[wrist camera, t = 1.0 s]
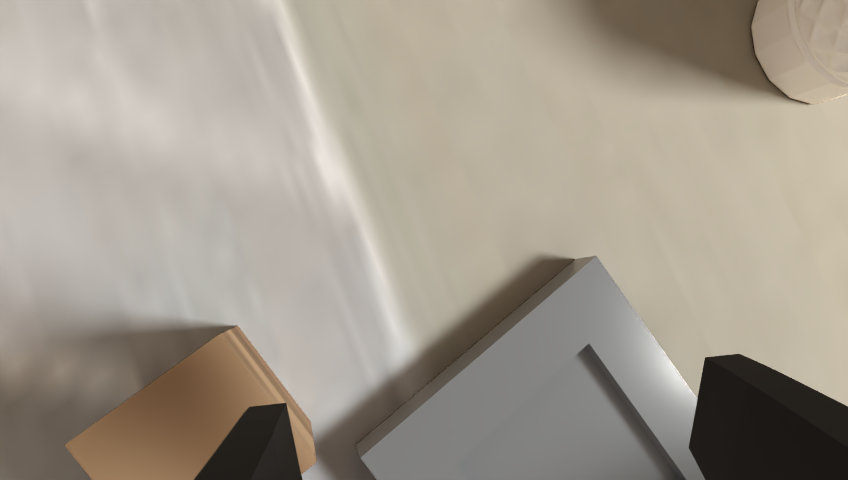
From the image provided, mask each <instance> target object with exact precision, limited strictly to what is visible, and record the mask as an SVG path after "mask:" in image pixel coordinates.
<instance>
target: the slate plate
mask: <svg viewBox="0 0 848 480" xmlns="http://www.w3.org/2000/svg"><path fill="white" fill-rule="evenodd" d="M696 405H697V398H696V396H695V395H694V394H693V392H692V391H691V389H690V388H689V386H688V385H687V384H686V382H685V381H684V379H683V378H682V377H681V375H680V374H679V372H678V371H677V369H676V368H675V367H674V365H673V364H672V362H671V361H670V360H669V358H668V357H667V355H666V354H665V352H664V351H663V350H662V348H661V347H660V345H659V344H658V343H657V341H656V340H655V338H654V337H653V335H652V334H651V333H650V331H649V330H648V328H647V327H646V326H645V324H644V323H643V321H642V320H641V318H640V317H639V316H638V314H637V313H636V311H635V310H634V309H633V307H632V306H631V304H630V303H629V301H628V300H627V299H626V297H625V296H624V294H623V293H622V292H621V290H620V289H619V287H618V286H617V284H616V283H615V282H614V280H613V279H612V277H611V276H610V275H609V273H608V272H607V270H606V269H605V267H604V266H603V265H602V263H601V262H600V260H599V259H598V258H597V256H592V257H585V258H579V259H575V260H574V261H573V262H572V263H570V264H569V265H568V266H567V267H566V268H564V269H563V270H562V271H561V272H560V273H559V274H557V275H556V276H555V277H554V278H553V279H551V280H550V281H549V282H548V283H547V284H546V285H544V286H543V287H542V288H541V289H540V290H538V291H537V292H536V293H535V294H534V295H532V296H531V297H530V298H529V299H528V300H527V301H525V302H524V303H523V304H522V305H521V306H519V307H518V308H517V309H516V310H515V311H514V312H512V313H511V314H510V315H509V316H508V317H506V318H505V319H504V320H503V321H502V322H501V323H499V324H498V325H497V326H496V327H495V328H493V329H492V330H491V331H490V332H489V333H488V334H486V335H485V336H484V337H483V338H482V339H480V340H479V341H478V342H477V343H476V344H475V345H473V346H472V347H471V348H470V349H469V350H467V351H466V352H465V353H464V354H463V355H462V356H460V357H459V358H458V359H457V360H456V361H454V362H453V363H452V364H451V365H450V366H448V367H447V368H446V369H445V370H444V371H443V372H441V373H440V374H439V375H438V376H437V377H435V378H434V379H433V380H432V381H431V382H430V383H428V384H427V385H426V386H425V387H424V388H422V389H421V390H420V391H419V392H418V393H417V394H415V395H414V396H413V397H412V398H411V399H409V400H408V401H407V402H406V403H405V404H404V405H402V406H401V407H400V408H399V409H398V410H396V411H395V412H394V413H393V414H392V415H391V416H389V417H388V418H387V419H386V420H385V421H383V422H382V423H381V424H380V425H379V426H378V427H376V428H375V429H374V430H373V431H372V432H370V433H369V434H368V435H367V436H366V437H364V438H363V439H362V440H361V441H360V442H359V443H357V444H356V445H355V447H356V449H357V451H358V454H359V456H360V458H361V460H362V461H363V462H364V464H365V465H366V466H367V467H368V469H369V470H370V471H371V473H372V474H373V475H374V477H375V478H376V479H377V480H705V478H704V476H703V474H702V472H701V471H700V469H699V467H698V465H697V463H696V461H695V459H694V457H693V455H692V453H691V451H690V449H689V442H690V437H691V432H692V426H693V421H694V415H695V410H696Z"/></svg>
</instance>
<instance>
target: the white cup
mask: <svg viewBox="0 0 848 480" xmlns="http://www.w3.org/2000/svg"><path fill="white" fill-rule="evenodd" d="M751 29H752V36H753V43H754V50H755V55H756V57H757V59H758V60H759V62H760V64H761V66H762V68H763V70H764V72H765V73H766V75H767V77H768V79H769V80H770V81H771V82H772V83H773V84H774V85H775V86H777V87H778V88H779V89H780V90H781V91H782V92H784V93H785V94H786V95H787V96H788V97H790V98H792V99H796V100H799V101H803V102H806V103H810V104H818V103H822V102H825V101H829V100H832V99H836V98H839V97H842V96H845V95H848V0H759V1H758V3H757V6H756V10H755V14H754V17H753V21H752V25H751Z"/></svg>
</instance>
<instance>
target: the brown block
mask: <svg viewBox="0 0 848 480" xmlns="http://www.w3.org/2000/svg"><path fill="white" fill-rule="evenodd" d="M279 403H286V404H287V408H288V413H289V418H290V423H291V428H292V433H293V437H294V442H295V447H296V452H297V457H298V462H299V466H300V471H301V474H302V473H304V472H305V471H306V470H307V469H308V468H310V467H311V466H312V465H313V464H314V463H316V462H317V461H316V454H315V447H314V440H313V434H312V427H311V422H310V420H309V419H308V418H307V416H306V415H305V414H304V412H303V411H302V410H301V408H300V407H299V406H298V404H297V403H296V402H295V400H294V399H293V398H292V397H291V395H290V394H289V393H288V391H287V390H286V389H285V387H284V386H283V385H282V383H281V382H280V381H279V379H278V378H277V377H276V375H275V374H274V373H273V371H272V370H271V369H270V368H269V366H268V365H267V364H266V362H265V361H264V360H263V358H262V357H261V356H260V354H259V353H258V352H257V350H256V349H255V348H254V346H253V345H252V344H251V342H250V341H249V340H248V339H247V337H246V336H245V335H244V333H243V332H242V331H241V329H240V328H239V327H238V326H236V327H234V328H232V329H230V330H227V331H225V332H223V333H221V334H219V335H218V336H216V337H215V338H213V339H212V340H211V341H209V342H208V343H206V344H205V345H204V346H202V347H201V348H199V349H198V350H197V351H195V352H194V353H192V354H191V355H190V356H188V357H187V358H185V359H184V360H183V361H181V362H180V363H178V364H177V365H176V366H174V367H173V368H171V369H170V370H169V371H167V372H166V373H164V374H163V375H162V376H160V377H159V378H157V379H156V380H155V381H153V382H152V383H150V384H149V385H148V386H146V387H145V388H143V389H142V390H141V391H139V392H138V393H136V394H135V395H134V396H132V397H131V398H129V399H128V400H127V401H125V402H124V403H122V404H121V405H120V406H118V407H117V408H115V409H114V410H113V411H111V412H110V413H108V414H107V415H106V416H104V417H103V418H101V419H100V420H99V421H97V422H96V423H94V424H93V425H92V426H90V427H89V428H87V429H86V430H85V431H83V432H82V433H80V434H79V435H78V436H76V437H75V438H73V439H72V440H71V441H69V442H68V443H66V444H65V446H66V448H67V449H68V450H69V451H70V453H71V454H72V455H73V456H74V458H75V459H76V460H77V462H78V463H79V464H80V465H81V467H82V468H83V469H84V470H85V472H86V473H87V474H88V475H89V477H90V478H91V479H92V480H194V478H195V477H196V476H197V475H198V473H199V472H200V471H201V469H202V468H203V467H204V465H205V464H206V463H207V461H208V460H209V459H210V457H211V456H212V455H213V453H214V452H215V451H216V449H217V448H218V447H219V445H220V444H221V443H222V441H223V440H224V439H225V437H226V436H227V435H228V433H229V432H230V430H231V429H232V428H233V426H234V425H235V424H236V422H237V421H238V420H239V418H240V417H241V416H242V414H243V413H244V412H245V411H246V410H247V409H248V408H249V407H252V406H261V405H270V404H279Z"/></svg>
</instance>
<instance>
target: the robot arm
mask: <svg viewBox="0 0 848 480" xmlns="http://www.w3.org/2000/svg"><path fill="white" fill-rule="evenodd" d="M689 449H690V451H691V453H692V455H693V457H694V459H695V461H696V463H697V465H698V467H699V469H700V471H701V472H702V474H703V476H704V478H705V480H848V407H847V406H845V405H844V404H842V403H840V402H838V401H836V400H834V399H832V398H830V397H828V396H826V395H824V394H822V393H820V392H818V391H816V390H814V389H812V388H810V387H808V386H806V385H804V384H802V383H800V382H798V381H796V380H794V379H792V378H790V377H788V376H786V375H784V374H782V373H780V372H778V371H776V370H774V369H771V368H769V367H767V366H765V365H763V364H761V363H759V362H757V361H754V360H752V359H750V358H747V357H745V356H743V355H740V354H734V355H724V356H715V357H706V358H705V361H704V367H703V372H702V378H701V383H700V388H699V394H698V399H697V405H696V410H695V415H694V421H693V426H692V432H691V437H690V442H689ZM194 480H302V476H301V471H300V466H299V462H298V457H297V452H296V447H295V442H294V437H293V433H292V428H291V423H290V418H289V413H288V408H287V404H286V403H279V404H270V405H261V406H252V407H249V408H248V409H247V410H246V411H245V412H244V413H243V414H242V416H241V417H240V418H239V420H238V421H237V422H236V424H235V425H234V426H233V428H232V429H231V430H230V432H229V433H228V435H227V436H226V437H225V439H224V440H223V441H222V443H221V444H220V445H219V447H218V448H217V449H216V451H215V452H214V453H213V455H212V456H211V457H210V459H209V460H208V461H207V463H206V464H205V465H204V467H203V468H202V469H201V471H200V472H199V473H198V475H197V476H196V477H195V478H194Z"/></svg>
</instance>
